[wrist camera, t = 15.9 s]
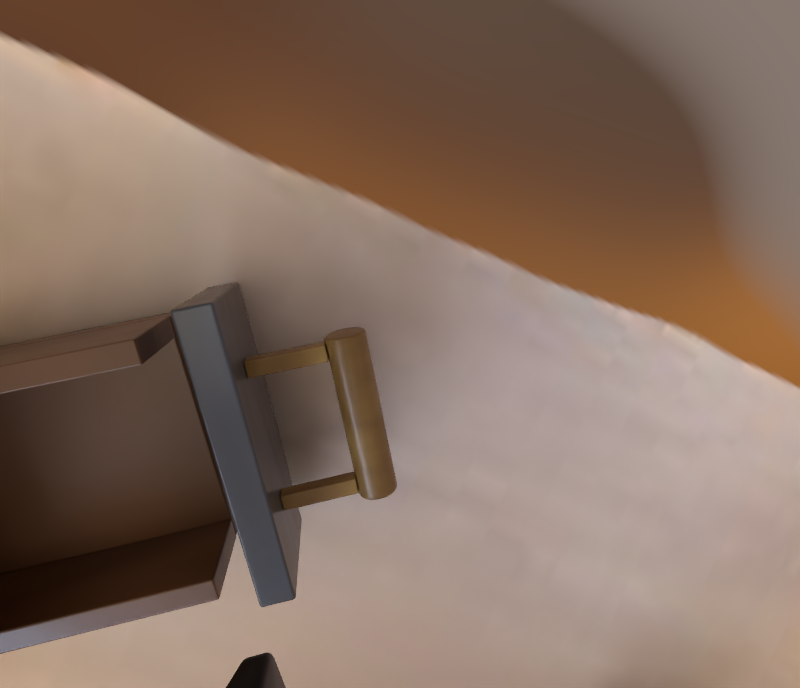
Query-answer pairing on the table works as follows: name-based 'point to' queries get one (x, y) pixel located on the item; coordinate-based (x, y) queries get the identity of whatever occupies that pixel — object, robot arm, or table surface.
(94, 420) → the drawer
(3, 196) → the table surface
